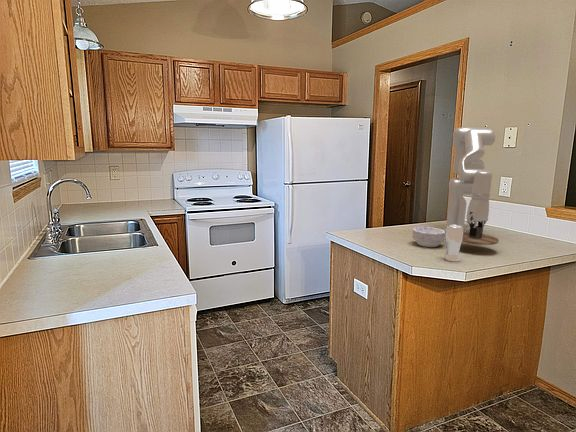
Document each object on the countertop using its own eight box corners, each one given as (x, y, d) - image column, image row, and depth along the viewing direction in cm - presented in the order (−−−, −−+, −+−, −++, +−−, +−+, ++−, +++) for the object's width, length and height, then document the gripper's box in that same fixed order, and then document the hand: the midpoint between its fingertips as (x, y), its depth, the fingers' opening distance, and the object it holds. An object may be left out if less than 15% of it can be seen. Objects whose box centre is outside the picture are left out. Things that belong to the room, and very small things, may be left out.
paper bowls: (430, 250, 182) (431, 234, 181) (405, 243, 195) (406, 228, 194) (450, 246, 190) (452, 231, 189) (425, 240, 203) (426, 225, 202)
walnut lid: (470, 232, 198) (472, 221, 197) (507, 242, 181) (509, 230, 180) (443, 235, 189) (444, 224, 188) (479, 246, 172) (481, 234, 171)
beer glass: (452, 262, 164) (456, 228, 161) (439, 258, 170) (443, 225, 167) (463, 260, 167) (467, 227, 164) (450, 256, 173) (454, 223, 170)
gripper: (484, 195, 188) (480, 231, 192) (461, 197, 180) (457, 234, 184) (499, 197, 181) (494, 235, 185) (475, 199, 174) (470, 238, 177)
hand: (475, 234), depth 184 cm, fingers closed on walnut lid, 4 cm apart
